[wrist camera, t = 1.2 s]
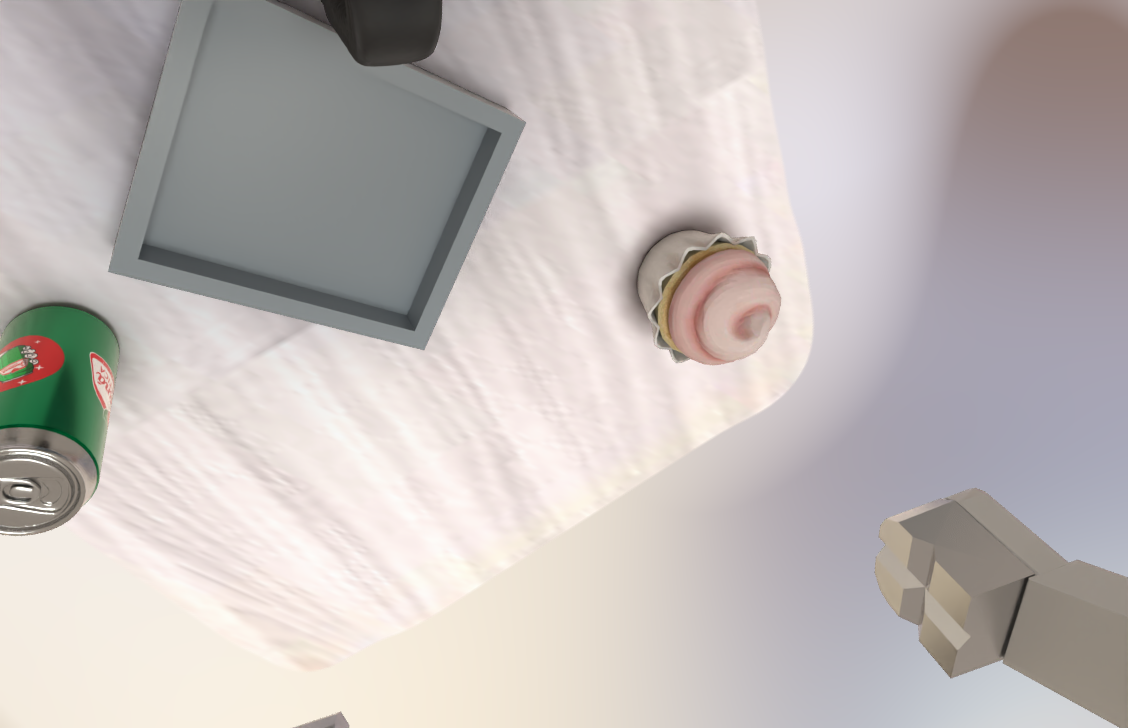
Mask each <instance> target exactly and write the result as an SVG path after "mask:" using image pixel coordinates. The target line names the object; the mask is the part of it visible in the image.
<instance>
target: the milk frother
mask: <svg viewBox="0 0 1128 728" xmlns="http://www.w3.org/2000/svg"><path fill="white" fill-rule="evenodd" d="M321 2H322V4H323V5H324V9H325V12H326V15H327V18H328V20H329V22H330V23H331V25H332V26H333V28H334V30H335V31H336V33H337V34H338V36H339V37H340V39H341V41H342V42H343V43H344V45H345V46H346V47H347V49H348V51H349V53H350V54H351V56H352V57H353V59H354V60H355V61H356V62H357V63H359V64H361V65H363V66H370V67H378V66H392V65H401V64H407V63H412V62H416V61H420V60H423V59H425V58H427V57H429V56H430V55H431V54H432V53H433V52H434V50H435V47H436V45H437V42H438V38H439V35H440V29H441V20H442V0H321Z"/></svg>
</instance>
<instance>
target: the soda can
mask: <svg viewBox="0 0 1128 728" xmlns="http://www.w3.org/2000/svg"><path fill="white" fill-rule="evenodd" d="M118 362H119V345H118V342H117V339H116V338H115V336H114V334H113V332H112V331H111V330H110V329H109V327H108V326H107V325H105V324H104V323H103V322H102V321H101V320H99V319H98V318H96V317H95V316H93V315H91V314H89V313H87V312H84V311H81V310H78V309H74V308H70V307H62V306H48V307H40V308H36V309H32V310H30V311H27V312H25V313H23V314H21V315H19V316H18V317H16V318H15V319H14V320H12V321H11V322H10V323H9V324H8V326H7V327H6V328H5V330H4V332H3V334H2V336H1V338H0V534H2V535H13V536H19V535H20V536H22V535H33V534H38V533H42V532H46V531H49V530H52V529H54V528H57V527H59V526H61V525H62V524H64V523H66V522H67V521H69V520H70V519H71V518H72V517H73V516H75V514H76V513H77V512H78V511H79V510H80V508H81V507H82V506H83V505H85V504H86V503H87V502H88V501H89V499H90V498H91V497H92V496H93V494H94V492H95V491H96V489H97V486H98V483H99V478H100V472H101V466H102V460H103V454H104V448H105V442H106V435H107V429H108V423H109V417H110V411H111V405H112V399H113V392H114V386H115V380H116V374H117V368H118Z"/></svg>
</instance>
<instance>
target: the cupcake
mask: <svg viewBox="0 0 1128 728" xmlns="http://www.w3.org/2000/svg"><path fill="white" fill-rule="evenodd" d="M770 268H771V258H770V257H769V256H768V255H764V254H759V253H758V250H757V244H756V240H755V238H754V236H753V237H739V238H731V237H729V236H728V235H727V234H725V233H723V232H722V233H717V234H713V235H712V234H708V233H704V232H700V231H696V230H686V231H680V232H676V233H673V234H670V235H668V236H667V237H665V238H663V239H662V240H660V241H659V242H658V243H657V244H656V245H654V246H653V247H652V248H651V250H650V251H649V252H648V254H647V255H646V257H645V258H644V260H643V262H642V264H641V267H640V269H639V274H638V295H639V298H640V300H641V302H642V304H643V306H644V308H645V310H646V312H647V316H648V318H649V320H650V322H651V324H652V330H653V337H654V345H655V346H656V347H658V348H659V349H667V350H669V352H670V354H671V357H672V359H673V361H674V362H675V363H682V362H684V361H687V360H689V359H692V360H695V361H697V362H700V363H702V364H707V365H719V364H725V363H729V362H734V361H736V360H739V359H743V358H745V357H747V356H749V355H752V354H753V353H755V352H756V351H757V350H758V349H759V348H760V347H761V346H762V345H763V343H764V342H765V340H766V339H767V336H768V332H769V331H770V330H771V328H772V327H773V325H774V324H775V322H776V320H777V317H778V314H779V310H780V305H781V297H780V294H779V292H778V290H777V288H776V286H775V284H774V282H773V280H772V279H771V278H770V275H769V271H770Z"/></svg>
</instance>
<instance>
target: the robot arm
mask: <svg viewBox="0 0 1128 728" xmlns="http://www.w3.org/2000/svg"><path fill="white" fill-rule="evenodd" d="M879 538H880V539H881V540H882V541H883V542H884V543H885V546H884V547H883V548H882V550H881V551H880V553H879V554H878V555H877V557H876V563H875V575H876V578H877V581H878V585H879V588H880V590H881V592H882V594H883V596H884V597H885V599H886V601H887V602H888V604H889V605H890V606H891V607H892V609H893V610H894V611H895V612H896V614H897V615H898V616H899V617H901V618H903V619H905V620H908V621H910V622H912V623H914V624H916V625H918V630H919V641H920V643H921V644H922V645H923V646H924V647H925V648H926V650H927V651H928V652H929V653H930V654H931V656H932V657H933V658H934V659H935V660H936V661H937V662H938V664H939V665H940V666H941V667H942V668H943V670H944V671H945V672H946V673H947V674H948V676H949V677H950V678H953V677H956V676H959V675H962V674H964V673H967V672H970V671H973V670H975V669H978V668H981V667H984V666H986V665H989V664H992V663H995V662H997V661H1000V660H1003V659H1004V660H1003V664H1005V665H1007V666H1009V667H1011V668H1012V669H1014V670H1016V671H1018V672H1020V673H1022V674H1023V675H1025V676H1027V677H1029V678H1031V679H1032V680H1034V681H1036V682H1038V683H1040V684H1042V685H1043V686H1045V687H1047V688H1049V689H1051V690H1052V691H1054V692H1056V693H1058V694H1060V695H1061V696H1063V697H1065V698H1067V699H1069V700H1071V701H1072V702H1074V703H1076V704H1078V705H1080V706H1081V707H1083V708H1085V709H1087V710H1089V711H1090V712H1092V713H1094V714H1096V715H1098V716H1100V717H1101V718H1103V719H1105V720H1107V721H1109V722H1111V723H1112V724H1114V725H1116V726H1118V727H1119V728H1128V577H1125V576H1122V575H1119V574H1116V573H1114V572H1111V571H1108V570H1105V569H1102V568H1099V567H1097V566H1094V565H1091V564H1088V563H1085V562H1082V561H1080V560H1075V561H1072V562H1067V561H1066V560H1065V559H1064V558H1063V557H1062V556H1060V555H1059V554H1058V553H1057V552H1056V551H1054V550H1053V549H1052V548H1051V547H1050V546H1049V545H1047V544H1046V543H1045V542H1044V541H1043V540H1041V539H1040V538H1039V537H1038V536H1037V535H1036V534H1034V533H1033V532H1032V531H1031V530H1030V529H1029V528H1027V527H1026V526H1025V525H1024V524H1023V523H1022V522H1020V521H1019V520H1018V519H1017V518H1016V517H1014V516H1013V515H1012V514H1011V513H1010V512H1009V511H1007V510H1006V509H1005V508H1004V507H1003V506H1002V505H1000V504H999V503H998V502H997V501H996V500H994V499H993V498H992V497H991V496H990V495H989V494H987V493H986V492H985V491H982V490H980V489H977V488H972V489H968V490H965V491H962V492H960V493H957V494H954V495H952V496H949V497H947V498H944V499H938V500H935V501H932V502H930V503H927V504H924V505H921V506H919V507H916V508H913V509H911V510H908V511H905V512H903V513H900V514H897V515H894V516H892V517H889V518H887V519H885V520H884V522H883V523H882V524H881V525H880V532H879ZM293 728H349V724H348V722H347V721H346V719H345V718H344V716H343V714H342V713H341V712H338V713H336V714H332V715H329V716H326V717H323V718H320V719H317V720H314V721H312V722H309V723H305V724H302V725H300V726H297V727H293Z"/></svg>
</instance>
